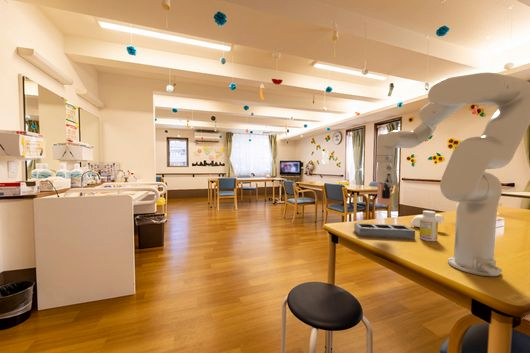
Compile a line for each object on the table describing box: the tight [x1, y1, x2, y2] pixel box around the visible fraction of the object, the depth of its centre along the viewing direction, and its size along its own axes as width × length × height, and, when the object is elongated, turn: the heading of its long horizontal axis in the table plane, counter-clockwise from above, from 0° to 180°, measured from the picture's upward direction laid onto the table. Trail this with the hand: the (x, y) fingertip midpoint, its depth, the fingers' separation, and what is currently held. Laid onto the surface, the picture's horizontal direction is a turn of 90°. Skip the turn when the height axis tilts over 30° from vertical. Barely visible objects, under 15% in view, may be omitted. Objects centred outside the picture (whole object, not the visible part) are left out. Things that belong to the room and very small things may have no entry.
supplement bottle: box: [419, 210, 439, 242], centre depth 102 cm, size 7×7×13 cm
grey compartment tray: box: [353, 222, 416, 240], centre depth 108 cm, size 10×24×4 cm, turn 82°
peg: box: [376, 182, 392, 206], centre depth 108 cm, size 4×4×10 cm
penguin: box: [409, 213, 445, 228], centre depth 120 cm, size 9×8×15 cm
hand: (383, 197), depth 108 cm, fingers closed on peg, 4 cm apart
